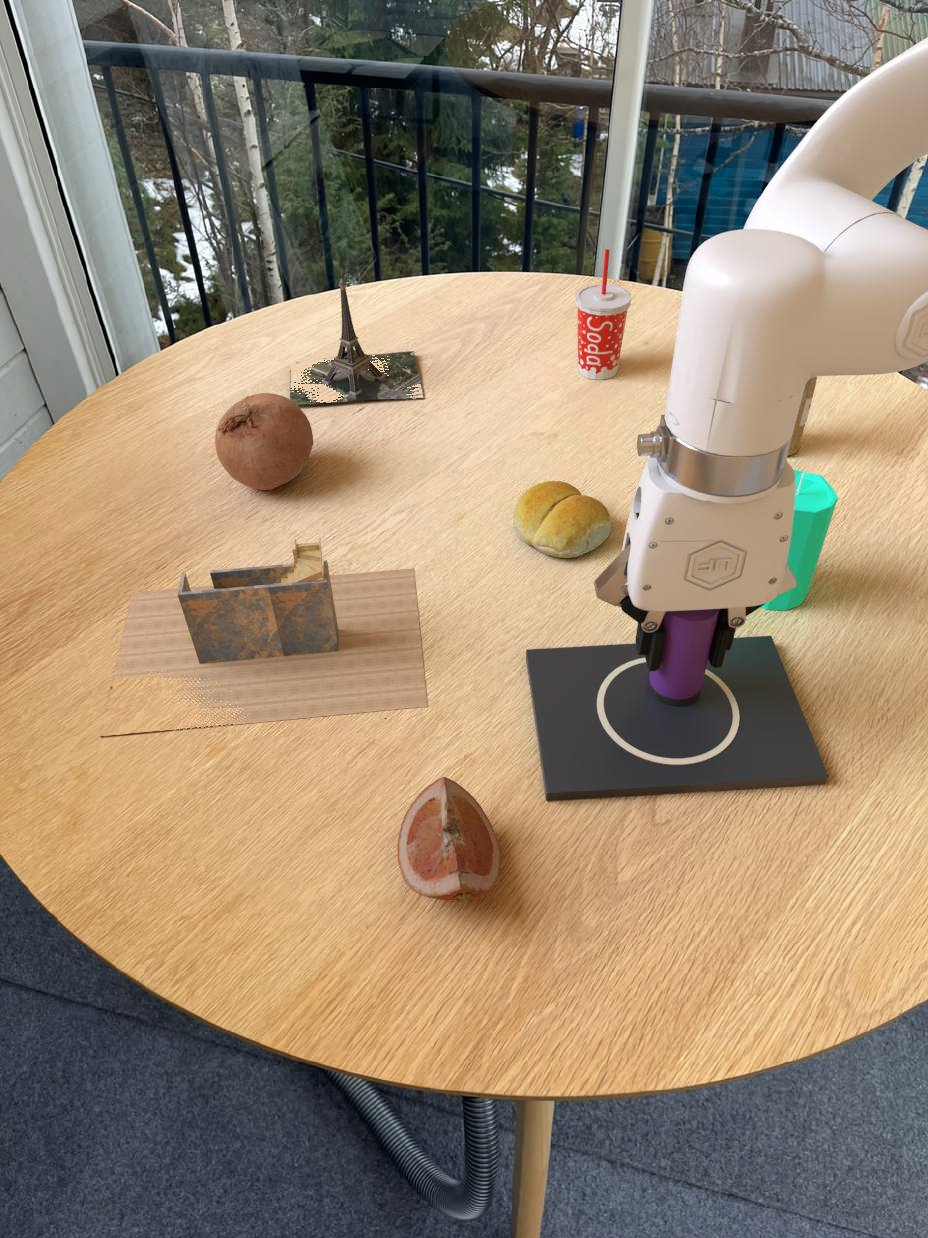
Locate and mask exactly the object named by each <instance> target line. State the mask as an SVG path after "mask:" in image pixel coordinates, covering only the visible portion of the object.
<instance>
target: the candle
mask: <svg viewBox="0 0 928 1238" xmlns="http://www.w3.org/2000/svg"><path fill="white" fill-rule="evenodd" d="M793 470H794V472H795V481H796V487H795V508H794V518H793V527H792V535H791V542H790V548H789V554H788V559H787V563H788V564H789V566H790V568H791V569H792V572H793V574H794V576H795V578H796V580H797V585H796V587H794V588H793V589H791V590H789V591H787V592H784V593H782V594H780V595H778V596H776V597H775V598H774V599H773V600H771V601H770V602H767V603H766V604H764V605H763V606H761V607H760V608H762V609H764V610H766V611H768V610H769V611H789V610H791V609H793V608H797V607H799V606H801V605H802V603H803V602H804V600H805V599H806V597H807V596H808V594H809V591H810V587H811V584H812V582H813V577H814V575H815V572H816V568H817V566H818V562H819V559H820V556H821V553H822V550H823V547H824V543H825V540H826V537H827V534H828V531H829V527H830V525H831V521H832V519H833V515H834V512H835V509H836V505H837V502H838V499H839V496H838V494H837V493H836V490H835V488H833V486H832V485H831V484H830V483H829V482H828V481H827V479H826V478H825V477H824V476H823V475H822V474H818V473H813V472H807V471H801V470H796V469H793Z"/></svg>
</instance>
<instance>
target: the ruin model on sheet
mask: <svg viewBox="0 0 928 1238" xmlns="http://www.w3.org/2000/svg"><path fill="white" fill-rule="evenodd" d="M318 540H319V541H317V542H305V543H297V538H294V548H292V549H291V550H292V555H293V556H292V557H293V563H283V564H273V565H271V564H270V565H260V566H249V567H236V568H225V569H209V574H210V575H209V576H210V578H211V582H212V585H204V586H193V587H191V586H190V583H189V580H188V577H187V574H186V572H185V571H183V572H180V578H179V584H178V588H171V589H157V590H145V591H135V592H131V596H130V600H129V605H128V608H127V613H126V619H125V623H124V627H123V631H122V632H123V633H122V636H121V641H120V646H119V650H120V652H119V651H118V654H117V659H116V664H115V668H114V673H113V678H116V679H117V678H118V677H119V678H121V677H122V678H124V677H123V675H124V676H125V678H127V676H128V677H129V678H131V677H132V678H136V679H137V678H138V677H139V678H141V677H140V675H141V676H142V678H144V676H145V677H146V678H148V676H149V673H150V674H151V676H152V677H153V674H154V675H155V676H156V678H158V677H157V674H158V675H159V672H160V673H161V675H162V676H163V677H164V678H166V676H167V678H170V677H171V678H172V679H173V678H176V679H177V678H178V677H179V678H182V677H183V678H184V679H185V678H188V679H189V681H190V682H191V683H192V680H190V678H192V679H193V681H194V682H195V683H196V684H197V685H195V683H192V684H193V685H194V686H195V687H193V685H190V683H188V680H185V681H186V682H187V683H188V684H189V685H190V686H191V687H192V688H193V689H191V687H188V685H186V683H184V684H185V685H186V686H187V687H188V688H189V689H190V690H191V691H189V689H187V688H186V687H184V685H182V686H183V687H184V688H185V689H186V690H187V691H189V692H190V693H191V694H192V691H193V692H194V693H195V694H196V695H197V697H195V694H192V695H193V696H194V697H195V698H196V699H198V697H199V698H201V699H202V700H203V701H201V699H198V700H199V701H200V702H201V704H199V701H196V699H193V696H190V693H187V691H185V690H184V689H182V687H180V688H181V689H182V690H183V691H184V692H186V693H187V694H188V695H189V696H190V697H191V698H192V699H193V700H195V701H196V702H197V703H198V704H199V705H201V706H202V707H200V706H198V707H199V708H200V709H201V708H205V709H206V708H207V707H208V708H209V709H210V708H213V709H215V708H218V709H219V710H220V707H221V708H222V709H223V708H225V707H226V708H227V709H228V708H232V709H233V710H234V708H237V709H238V708H242V709H243V710H242V709H238V710H240V711H241V713H240V711H236V710H235V711H236V712H238V713H240V714H237V713H235V712H233V713H235V714H236V715H238V716H237V717H236V715H233V713H230V712H229V711H227V712H228V713H230V714H231V715H233V716H235V717H236V718H234V717H231V715H228V714H227V713H226V712H224V710H225V711H226V709H224V710H221V711H222V712H224V713H225V714H227V715H228V716H230V717H231V718H233V719H235V720H236V721H238V722H240V723H238V722H236V721H235V720H232V719H230V720H231V721H233V722H235V723H236V724H235V723H233V722H230V720H227V719H226V718H223V716H220V715H219V713H221V712H219V713H216V711H218V710H216V711H213V709H210V710H212V711H213V712H215V713H216V714H217V715H219V716H220V717H222V718H223V719H225V720H227V721H228V722H230V723H228V722H225V721H224V720H222V721H224V722H225V723H227V724H228V725H226V724H225V723H222V722H220V723H222V724H224V725H225V726H235V725H246V724H256V723H267V722H277V721H287V720H288V721H289V720H298V719H307V718H308V719H309V718H318V717H319V718H320V717H321V718H322V717H330V716H341V715H348V714H349V715H351V714H361V713H363V714H364V713H373V712H385V711H393V710H405V709H414V708H415V709H417V708H425V707H428V697H427V696H428V695H427V687H426V678H425V677H426V676H425V668H424V657H423V656H424V655H423V647H422V646H423V645H422V637H421V628H420V627H421V626H420V617H419V607H418V597H417V588H416V577H415V569H414V568H413V567H411V568H404V569H403V568H401V569H390V570H379V571H366V572H356V573H345V574H344V573H343V574H333V575H331V574H330V569H329V564H328V559H323V552H322V544H321V537H320V536H318ZM125 649H126V650H125ZM128 649H129V650H128ZM138 649H139V650H138ZM148 649H149V651H148ZM132 650H133V651H132ZM142 650H143V651H142ZM145 650H146V651H145ZM152 650H153V651H152ZM147 653H148V654H147ZM150 653H151V654H150ZM158 654H159V655H158ZM148 655H149V657H148ZM152 656H153V657H152ZM121 667H122V668H121ZM128 667H129V669H128ZM138 667H139V668H138ZM159 667H160V669H159ZM125 668H126V669H125ZM132 668H133V669H132ZM142 668H143V669H142ZM149 668H150V670H149ZM163 668H164V669H163ZM167 668H168V669H167ZM119 669H120V670H119ZM136 669H137V670H136ZM153 669H154V670H153ZM157 669H158V671H157ZM123 670H124V671H123ZM130 670H131V672H130ZM140 670H141V671H140ZM161 670H162V671H163V672H161ZM165 670H166V672H165ZM127 671H128V672H127ZM134 671H135V672H134ZM151 671H152V672H153V673H151ZM177 671H178V672H177ZM118 672H119V673H118ZM121 672H122V673H123V674H122V673H121ZM138 672H139V673H138ZM155 672H156V673H157V674H155ZM125 673H126V674H125ZM132 673H133V675H132ZM142 673H143V674H142ZM119 674H120V675H121V676H119ZM129 674H130V675H129ZM136 674H137V676H136ZM146 674H147V675H146ZM164 674H165V675H166V676H164ZM168 674H169V675H168ZM161 675H159V677H160V678H162V676H161ZM184 675H185V676H184ZM151 676H149V678H151ZM113 678H112V679H113ZM153 678H155V677H153ZM194 678H196V679H197V680H198V681H199V682H200V683H201V684H202V685H200V683H197V680H194ZM199 678H200V679H201V680H199ZM204 679H205V680H204ZM208 679H209V680H208ZM170 681H171V680H170ZM174 681H175V680H174ZM178 681H179V680H178ZM202 681H203V682H204V683H202ZM182 682H183V680H182ZM207 682H208V683H207ZM211 682H212V683H211ZM216 682H217V683H216ZM226 683H227V684H226ZM180 684H181V683H180ZM205 684H206V685H205ZM209 684H210V685H209ZM236 684H237V685H236ZM198 685H199V686H200V687H198ZM214 685H215V686H214ZM219 685H220V686H219ZM175 686H176V685H175ZM178 686H179V685H178ZM203 686H204V687H203ZM207 686H208V687H207ZM212 687H213V688H212ZM217 687H218V688H217ZM173 688H174V687H173ZM196 688H198V689H196ZM201 688H202V689H201ZM194 689H195V690H196V691H194ZM215 689H216V690H215ZM171 690H172V689H171ZM175 690H176V689H175ZM178 690H180V689H179V688H178ZM199 690H200V691H199ZM207 690H208V691H209V692H208V691H207ZM212 690H213V691H214V692H213V691H212ZM225 690H226V691H225ZM176 691H177V690H176ZM183 691H181V692H182V693H183ZM204 691H205V692H204ZM231 691H232V692H231ZM173 692H174V691H173ZM177 692H178V691H177ZM197 692H198V693H199V694H197ZM210 692H211V693H212V694H211V693H210ZM174 693H175V692H174ZM202 693H203V694H202ZM171 694H172V695H173V693H171ZM175 694H176V695H177V693H175ZM179 694H180V695H181V693H179ZM183 694H184V695H185V693H183ZM208 694H209V695H210V696H209V695H208ZM221 694H222V695H221ZM200 695H201V696H200ZM185 696H186V695H185ZM174 697H175V696H174ZM178 697H179V696H178ZM182 697H183V696H182ZM186 697H187V698H188V696H186ZM203 697H204V698H205V699H203ZM207 697H208V698H209V699H207ZM183 698H184V697H183ZM191 698H188V699H189V700H190V701H191ZM212 698H213V699H212ZM217 698H218V699H217ZM180 699H181V700H182V698H180ZM184 699H185V700H186V698H184ZM173 700H174V699H173ZM206 700H207V701H206ZM210 700H212V701H210ZM215 700H216V701H215ZM220 700H221V701H222V702H220ZM208 701H209V702H210V703H208ZM179 702H180V701H179ZM183 702H184V701H183ZM187 702H189V701H187ZM192 702H193V701H192ZM204 702H205V703H204ZM213 702H214V703H213ZM218 702H219V703H220V704H218ZM226 702H228V703H226ZM232 702H233V703H232ZM236 702H237V703H236ZM193 703H194V702H193ZM224 703H225V704H226V705H225V704H224ZM186 704H187V703H186ZM190 704H191V703H190ZM202 704H204V705H202ZM207 704H208V705H207ZM211 704H212V705H211ZM216 704H217V705H216ZM229 704H231V705H229ZM191 705H192V704H191ZM195 705H196V706H197V704H195ZM222 705H223V706H222ZM188 706H189V707H190V705H188ZM205 706H206V707H205ZM209 706H211V707H209ZM214 706H215V707H214ZM219 706H220V707H219ZM227 706H229V707H227ZM233 706H234V707H233ZM237 706H238V707H237ZM194 707H195V706H194ZM187 708H188V707H187ZM191 708H192V707H191ZM256 708H257V709H256ZM203 711H204V710H203ZM207 711H208V709H207ZM207 711H204V712H206V713H207ZM230 711H232V710H230ZM245 711H246V712H245ZM209 712H210V713H211V711H209ZM201 713H202V711H201ZM243 713H245V714H243ZM249 713H250V714H249ZM194 714H195V713H194ZM198 714H200V713H198ZM203 714H204V715H205V716H207V714H208V715H209V713H207V714H205V713H203ZM211 714H213V715H214V713H211ZM221 714H222V713H221ZM225 714H222V715H224V716H225ZM187 715H188V714H187ZM217 715H214V716H216V717H217ZM241 715H243V716H241ZM247 715H248V716H247ZM197 716H198V715H197ZM201 716H203V715H202V714H201ZM210 716H211V717H212V715H210ZM239 716H240V717H241V718H239ZM244 716H245V717H246V718H245V717H244ZM190 717H191V716H190ZM225 717H226V716H225ZM195 718H196V717H195ZM200 718H201V717H200ZM204 718H205V719H206V717H204ZM208 718H210V717H208ZM213 718H214V719H215V717H213ZM217 718H218V717H217ZM227 718H228V719H229V717H227ZM237 718H238V719H240V720H241V721H243V722H241V721H240V720H237ZM242 718H243V719H245V720H243V719H242ZM188 719H189V718H188ZM219 719H220V720H221V718H219ZM198 720H199V719H198ZM202 720H204V719H202ZM207 720H208V719H207ZM211 720H213V719H211ZM216 720H217V719H216ZM213 721H214V720H213ZM217 721H219V720H217ZM201 722H202V721H201ZM205 722H207V721H205ZM210 722H211V721H210ZM214 722H216V721H214ZM244 722H245V723H244ZM194 723H195V722H194ZM211 723H212V722H211ZM216 723H217V722H216ZM220 723H217V724H219V725H220ZM231 723H232V724H233V725H231ZM187 724H188V723H187ZM191 724H192V723H191ZM204 724H205V723H204ZM208 724H209V723H208ZM213 724H214V725H216V724H215V723H213ZM192 725H193V724H192ZM197 725H198V724H197ZM201 725H202V726H204V727H205V728H211V727H210V726H208V725H207V724H205V725H203V724H201ZM201 725H198V726H200V727H201ZM206 725H207V726H208V727H206ZM210 725H211V726H213V725H212V724H210ZM185 726H186V725H185ZM190 726H191V725H190ZM194 726H195V727H196V725H194ZM225 726H223V725H221V726H220V727H225ZM175 727H176V726H175ZM183 727H184V726H183ZM187 727H188V728H189V726H187ZM191 727H192V728H194V727H193V726H191ZM204 727H201V728H199V727H197V728H196V729H202V728H204ZM215 727H219V726H218V725H216V726H213V727H212V728H215ZM176 728H177V727H176ZM192 728H190V729H189V730H193V729H192ZM173 729H174V728H173ZM181 729H182V728H181ZM194 729H195V728H194ZM171 730H172V729H171ZM184 730H188V729H187V728H186V729H183V730H182V731H184ZM174 731H177V730H176V729H175V730H174ZM178 731H181V730H180V729H179V730H178Z"/></svg>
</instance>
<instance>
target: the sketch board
mask: <svg viewBox="0 0 928 1238" xmlns="http://www.w3.org/2000/svg"><path fill="white" fill-rule="evenodd" d="M525 662H526V671H527V676H528V681H529V682H528V683H529V691H530V698H531V704H532V711H533V712H532V713H533V719H534V725H535V733H536V741H537V746H538V753H539V760H540V761H539V762H540V767H541V768H540V769H541V776H542V781H543V789H544V796H545V801H546V802H553V801H568V800H570V801H571V800H585V799H601V798H617V797H618V798H619V797H633V796H650V795H651V796H652V795H666V794H668V795H669V794H682V793H683V794H685V793H700V792H701V793H702V792H717V791H719V792H720V791H731V790H733V791H734V790H750V789H751V790H752V789H767V788H783V787H799V786H800V787H801V786H815V785H816V786H818V785H826V784H827V781H828V779H829V776H830V775H829V773H828V770H827V768H826V766H825V763H824V761H823V758H822V756H821V753H820V750H819V748H818V746H817V743H816V742H815V739H814V736H813V734H812V732H811V729H810V726H809V724H808V722H807V719H806V717H805V714H804V712H803V709H802V707H801V705H800V702H799V700H798V697H797V695H796V692H795V690H794V687H793V685H792V682H791V681H790V678H789V675H788V672H787V671H786V668H785V665H784V662H783V660H782V658H781V656H780V653H779V651H778V649H777V646H776V644H775V641H774V638H773V636H772V635H760V636H758V635H757V636H743V637H742V636H741V637H740V636H739V637H734V638H733V642H732V646H731V649H730V650H726V652H725V656H724V660H723V664H722V667H718V668H714V667H713V666H711V665H710V662H709V659H708V662H707V666H706V670H705V675H704V679H703V683H702V688H701V692H700V695H699V697H698V698H697V699H696V700H695V701H694V702H692V703H691V704H688V705H685V706H670V705H667V704H664V703H662V702H660V701H658V700H657V699H656V698H654V696H653V695H652V694H651V693H650V691H649V688H648V679H649V674H650V671H649V670H648V666H647V663H646V659H645V655H638V653H637V649H636V642H635V643H619V644H602V645H601V644H599V645H598V644H597V645H583V646H565V647H547V648H530V649H525Z"/></svg>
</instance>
